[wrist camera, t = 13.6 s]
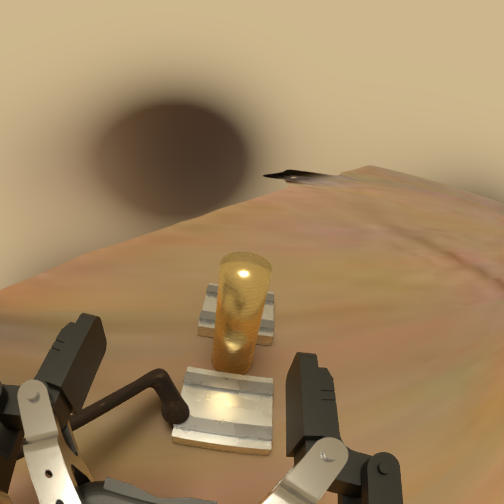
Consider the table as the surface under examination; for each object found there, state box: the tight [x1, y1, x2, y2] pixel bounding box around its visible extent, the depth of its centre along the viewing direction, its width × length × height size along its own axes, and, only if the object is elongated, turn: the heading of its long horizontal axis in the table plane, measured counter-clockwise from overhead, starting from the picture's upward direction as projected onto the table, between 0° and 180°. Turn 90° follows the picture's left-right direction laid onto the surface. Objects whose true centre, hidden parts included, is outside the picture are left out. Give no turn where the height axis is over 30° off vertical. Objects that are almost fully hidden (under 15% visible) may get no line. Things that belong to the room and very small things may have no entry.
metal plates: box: [172, 283, 274, 455], centre depth 30 cm, size 8×20×2 cm, turn 177°
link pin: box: [212, 252, 272, 375], centre depth 27 cm, size 4×4×12 cm
